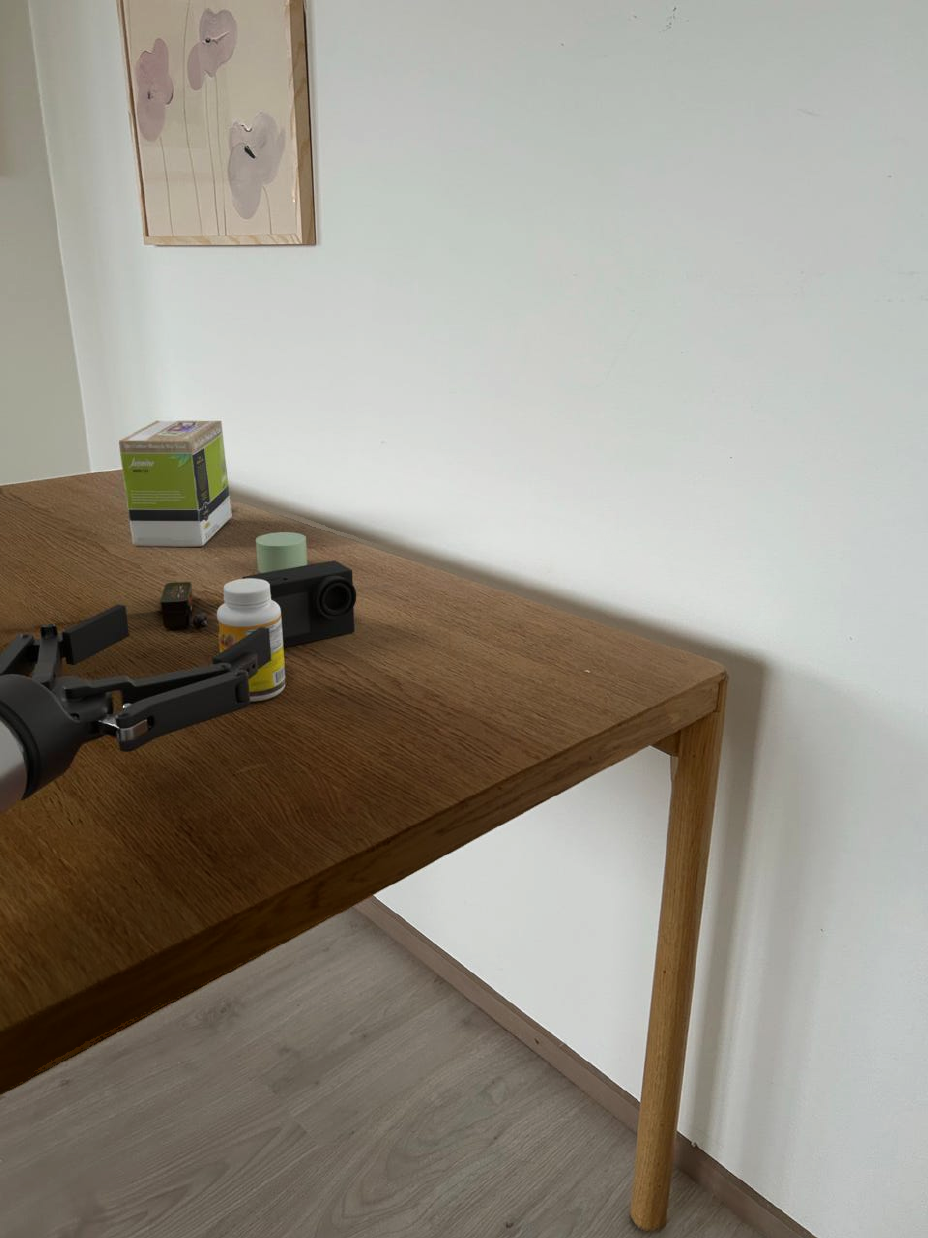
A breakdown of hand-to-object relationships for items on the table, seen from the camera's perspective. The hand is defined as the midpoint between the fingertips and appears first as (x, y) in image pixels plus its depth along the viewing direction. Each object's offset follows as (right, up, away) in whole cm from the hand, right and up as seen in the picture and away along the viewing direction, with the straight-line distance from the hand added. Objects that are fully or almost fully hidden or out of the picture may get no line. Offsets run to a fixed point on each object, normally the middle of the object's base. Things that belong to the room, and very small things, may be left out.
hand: (193, 631), depth 77 cm
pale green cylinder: (0, +6, +40) cm, 40 cm away
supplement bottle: (+3, -6, +10) cm, 12 cm away
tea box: (-18, +13, +59) cm, 63 cm away
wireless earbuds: (-8, 0, +26) cm, 27 cm away
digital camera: (+5, -1, +22) cm, 23 cm away
